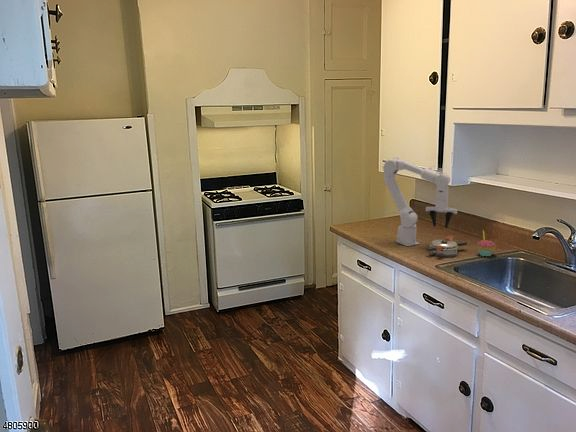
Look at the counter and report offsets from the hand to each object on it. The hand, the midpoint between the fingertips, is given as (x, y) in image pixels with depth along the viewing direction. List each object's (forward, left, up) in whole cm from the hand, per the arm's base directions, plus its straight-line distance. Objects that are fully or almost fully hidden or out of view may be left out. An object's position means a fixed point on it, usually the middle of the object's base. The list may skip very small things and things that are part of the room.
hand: (440, 226), depth 236 cm
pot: (+9, -3, -10) cm, 14 cm away
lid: (+8, -4, -6) cm, 10 cm away
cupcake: (+20, +10, -11) cm, 24 cm away
